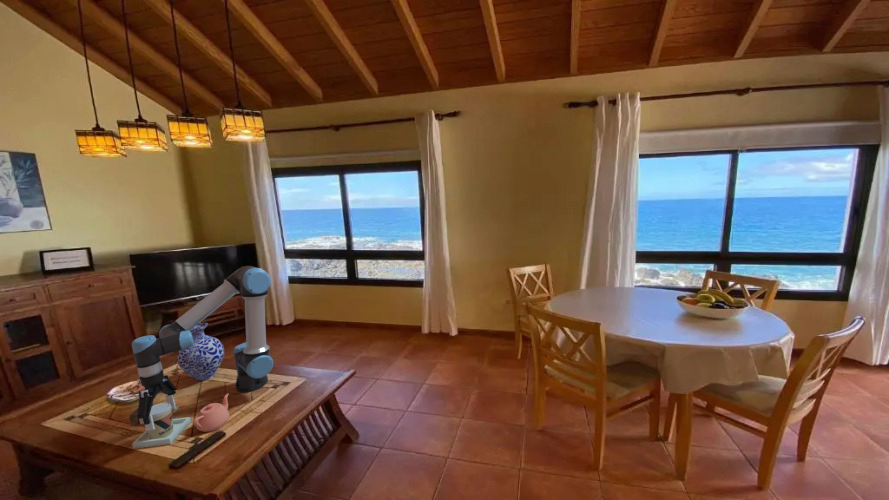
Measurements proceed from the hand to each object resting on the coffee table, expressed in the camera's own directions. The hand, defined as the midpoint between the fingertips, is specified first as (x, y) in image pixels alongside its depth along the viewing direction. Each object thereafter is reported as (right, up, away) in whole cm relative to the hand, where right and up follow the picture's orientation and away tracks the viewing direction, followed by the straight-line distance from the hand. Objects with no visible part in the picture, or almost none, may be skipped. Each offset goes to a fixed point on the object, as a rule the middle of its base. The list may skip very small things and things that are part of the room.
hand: (162, 419), depth 146 cm
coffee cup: (0, -7, 0) cm, 7 cm away
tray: (0, -7, +1) cm, 7 cm away
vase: (-15, 0, +49) cm, 51 cm away
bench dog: (-20, -6, +13) cm, 25 cm away
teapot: (+18, -5, +7) cm, 20 cm away
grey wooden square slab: (-13, -6, +14) cm, 20 cm away
